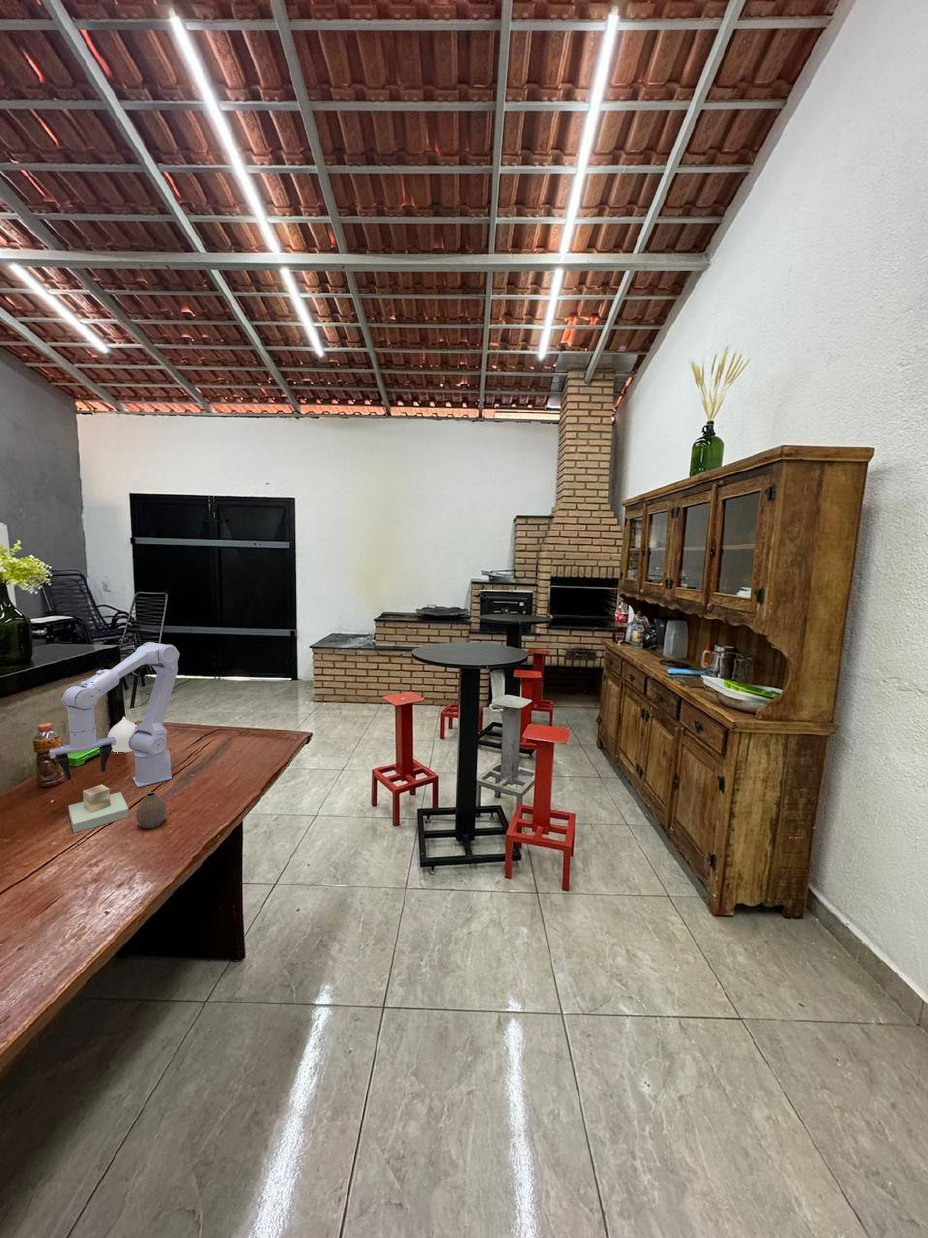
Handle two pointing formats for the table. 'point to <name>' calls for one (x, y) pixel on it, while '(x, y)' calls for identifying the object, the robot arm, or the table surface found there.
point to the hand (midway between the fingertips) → (86, 774)
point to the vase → (151, 811)
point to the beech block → (96, 798)
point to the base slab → (98, 814)
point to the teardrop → (122, 735)
